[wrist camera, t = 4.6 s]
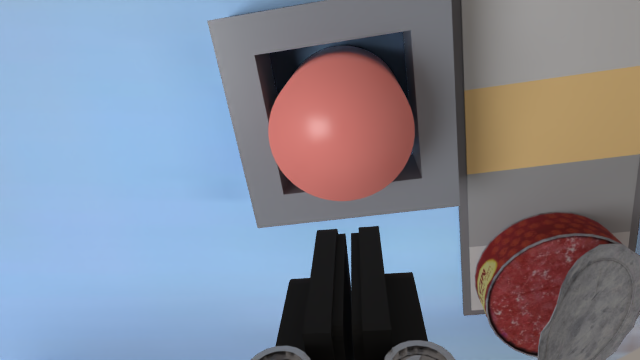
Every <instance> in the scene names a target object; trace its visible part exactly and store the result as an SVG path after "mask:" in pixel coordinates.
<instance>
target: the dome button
mask: <svg viewBox="0 0 640 360" xmlns="http://www.w3.org/2000/svg"><path fill="white" fill-rule="evenodd" d="M268 136H269V143H270V148H271V151H272V154H273V157H274V159H275V161H276V163H277V165H278V166H279V168H280V170H281V171H282V172H283V174H284V175H285V176H286V177H287V178H288V179H289V180H290V181H291V182H292V183H293V184H294V185H296V186H297V187H298V188H300V189H301V190H303V191H305V192H306V193H308V194H311V195H313V196H315V197H319V198H322V199H326V200H332V201H352V200H357V199H361V198H365V197H368V196H370V195H373V194H375V193H377V192H379V191H380V190H382V189H384V188H385V187H386V186H388V185H389V184H390V183H391V182H392V181H393V180H394V179H395V178H396V177H397V176H398V175H399V174H400V172H401V171H402V170H403V168H404V167H405V165H406V163H407V162H408V159H409V157H410V154H411V152H412V148H413V144H414V137H415V125H414V118H413V114H412V110H411V107H410V105H409V103H408V100H407V98H406V96H405V94H404V92H403V91H402V89H401V87H400V85H399V83H398V81H397V79H396V77H395V75H394V74H393V72H392V71H391V69H390V68H389V67H388V66H387V64H386V63H385V62H384V61H382V60H381V59H380V58H379V57H378V56H376V55H375V54H373V53H371V52H369V51H367V50H365V49H361V48H358V47H353V46H334V47H329V48H326V49H323V50H320V51H318V52H316V53H315V54H313V55H311V56H310V57H308V58H307V59H306V60H305V61H304V62H303V63H302V64H301V65H300V66H299V67H298V68H297V70H296V71H295V72H294V74H293V75H292V76H291V78H290V79H289V81H288V82H287V83H286V85H285V86H284V88H283V89H282V90H281V92H280V93H279V95H278V97H277V98H276V100H275V103H274V105H273V107H272V110H271V114H270V118H269V126H268Z"/></svg>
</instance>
